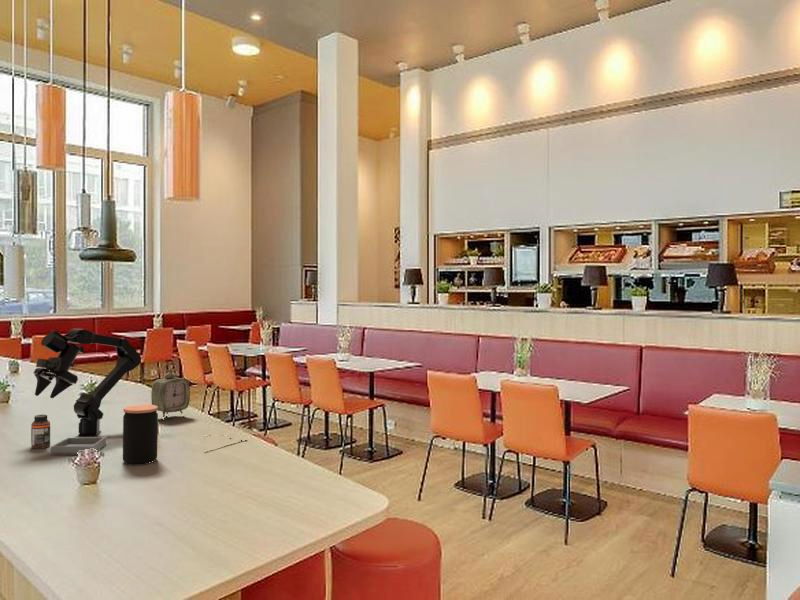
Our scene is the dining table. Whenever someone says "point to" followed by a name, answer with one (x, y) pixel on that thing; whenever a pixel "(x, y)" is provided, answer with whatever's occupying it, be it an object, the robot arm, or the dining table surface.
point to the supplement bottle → (40, 432)
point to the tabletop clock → (170, 392)
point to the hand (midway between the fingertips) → (43, 396)
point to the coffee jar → (140, 434)
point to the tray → (77, 445)
